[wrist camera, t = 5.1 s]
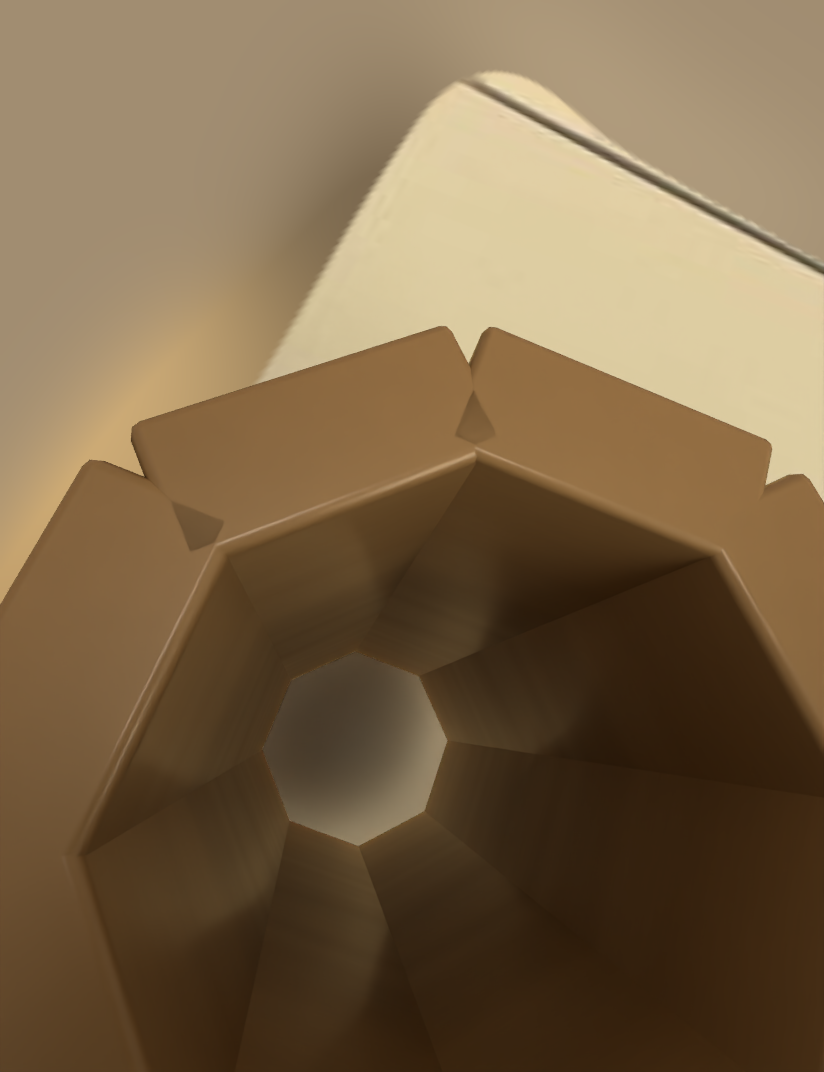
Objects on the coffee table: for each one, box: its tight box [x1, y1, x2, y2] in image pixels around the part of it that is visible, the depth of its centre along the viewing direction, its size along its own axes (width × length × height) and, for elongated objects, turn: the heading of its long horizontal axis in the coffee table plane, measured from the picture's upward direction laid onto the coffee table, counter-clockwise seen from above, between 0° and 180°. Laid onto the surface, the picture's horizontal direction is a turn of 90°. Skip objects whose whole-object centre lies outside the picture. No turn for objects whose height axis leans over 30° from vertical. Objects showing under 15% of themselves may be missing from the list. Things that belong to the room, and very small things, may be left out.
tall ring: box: [0, 326, 824, 1072], centre depth 9 cm, size 6×6×12 cm
